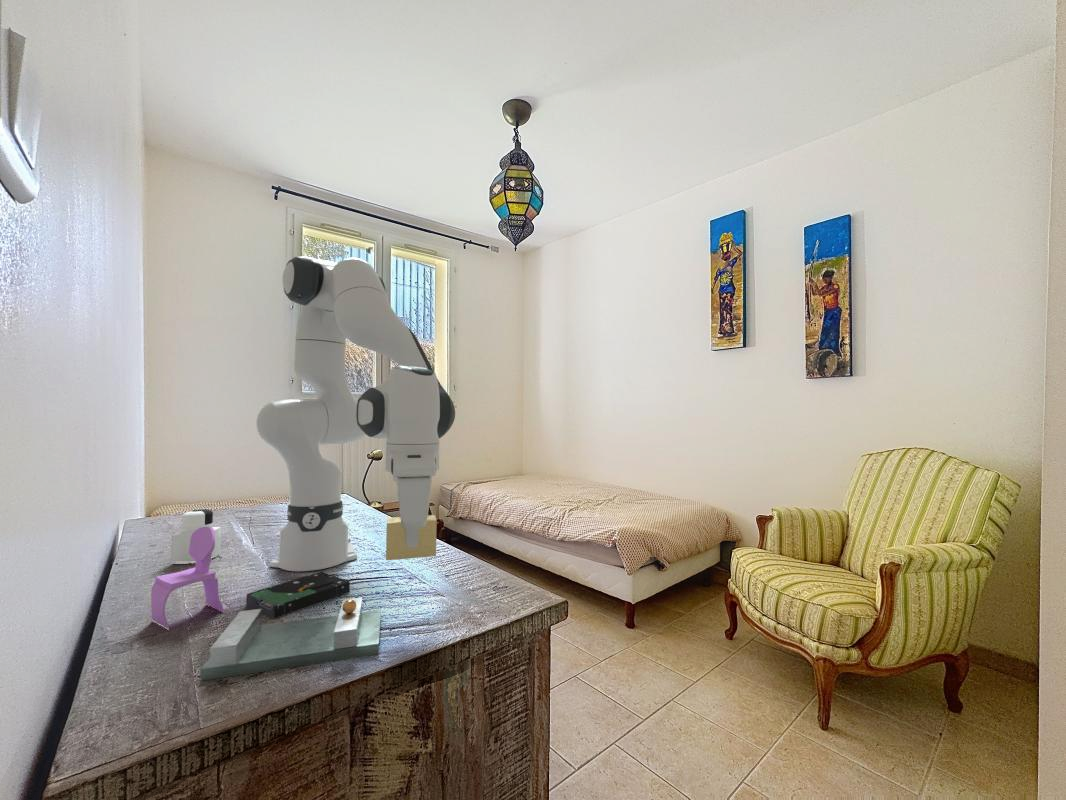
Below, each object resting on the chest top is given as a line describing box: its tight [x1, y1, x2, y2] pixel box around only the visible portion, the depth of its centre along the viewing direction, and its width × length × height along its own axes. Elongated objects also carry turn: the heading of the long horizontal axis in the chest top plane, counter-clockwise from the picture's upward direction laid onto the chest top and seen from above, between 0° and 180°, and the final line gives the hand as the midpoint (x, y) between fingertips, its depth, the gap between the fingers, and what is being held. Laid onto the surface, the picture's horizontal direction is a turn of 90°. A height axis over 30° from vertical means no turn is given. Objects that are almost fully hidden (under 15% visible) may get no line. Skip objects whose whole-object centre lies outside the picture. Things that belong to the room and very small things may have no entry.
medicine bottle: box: [170, 508, 222, 561], centre depth 109 cm, size 7×7×12 cm
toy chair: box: [150, 526, 225, 628], centre depth 77 cm, size 8×9×15 cm
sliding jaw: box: [334, 597, 363, 649], centre depth 69 cm, size 12×3×4 cm, turn 17°
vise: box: [199, 609, 382, 682], centre depth 67 cm, size 12×22×4 cm, turn 107°
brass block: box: [385, 514, 438, 561], centre depth 76 cm, size 4×8×6 cm, turn 107°
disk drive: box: [245, 571, 351, 620], centre depth 85 cm, size 10×3×15 cm
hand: (411, 541), depth 76 cm, fingers closed on brass block, 4 cm apart
